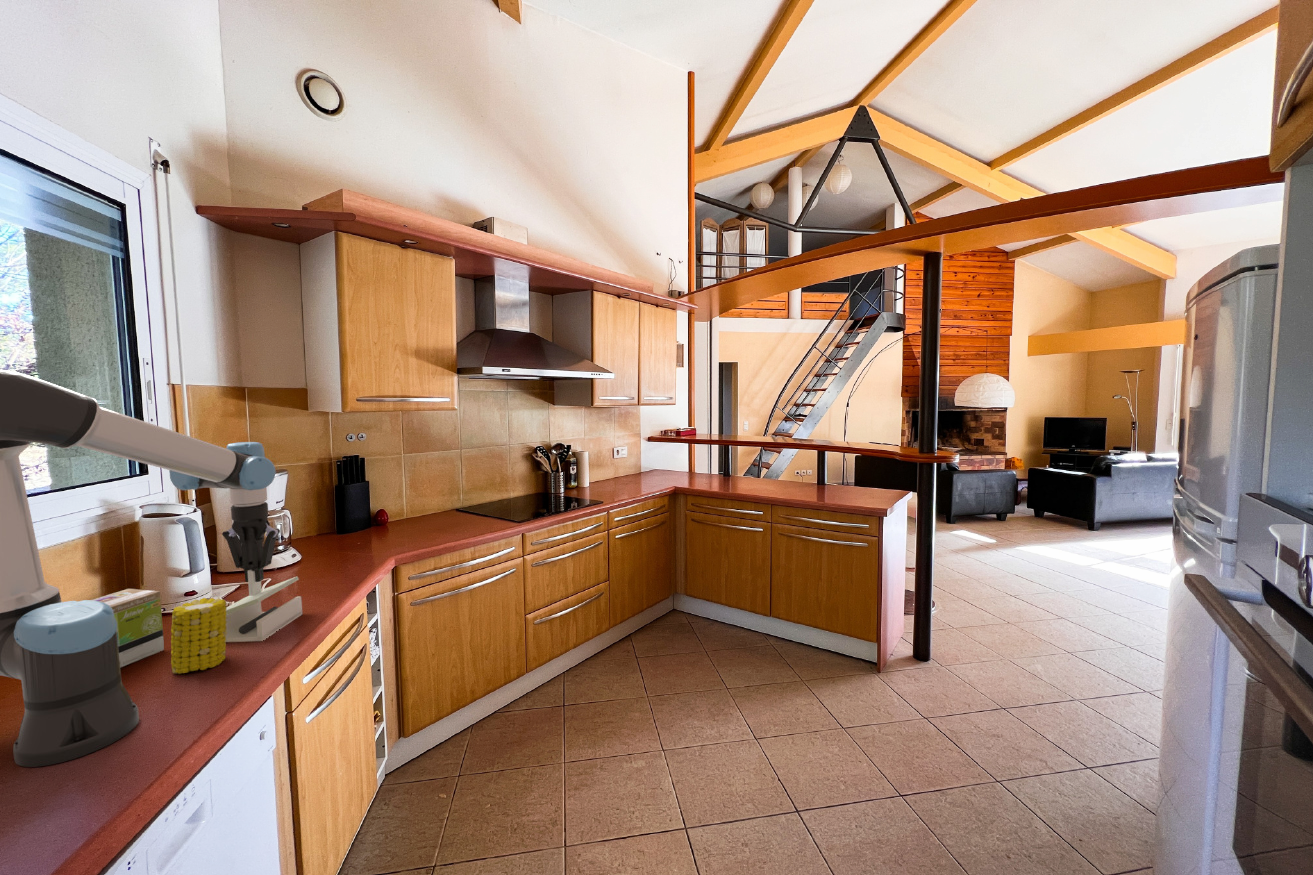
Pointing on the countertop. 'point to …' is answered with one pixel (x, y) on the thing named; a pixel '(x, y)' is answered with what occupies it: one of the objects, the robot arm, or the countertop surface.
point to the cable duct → (261, 621)
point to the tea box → (136, 623)
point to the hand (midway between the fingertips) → (255, 593)
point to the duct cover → (259, 596)
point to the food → (198, 635)
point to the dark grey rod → (254, 622)
